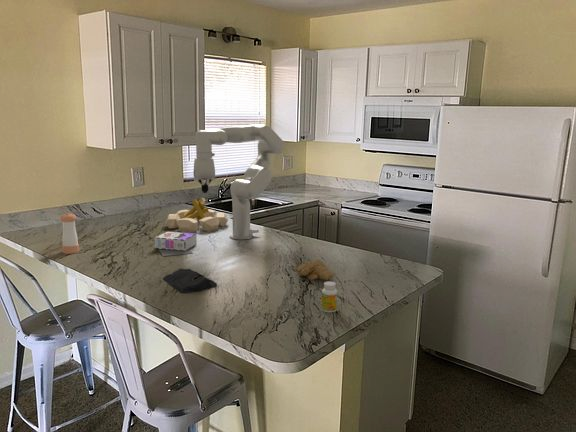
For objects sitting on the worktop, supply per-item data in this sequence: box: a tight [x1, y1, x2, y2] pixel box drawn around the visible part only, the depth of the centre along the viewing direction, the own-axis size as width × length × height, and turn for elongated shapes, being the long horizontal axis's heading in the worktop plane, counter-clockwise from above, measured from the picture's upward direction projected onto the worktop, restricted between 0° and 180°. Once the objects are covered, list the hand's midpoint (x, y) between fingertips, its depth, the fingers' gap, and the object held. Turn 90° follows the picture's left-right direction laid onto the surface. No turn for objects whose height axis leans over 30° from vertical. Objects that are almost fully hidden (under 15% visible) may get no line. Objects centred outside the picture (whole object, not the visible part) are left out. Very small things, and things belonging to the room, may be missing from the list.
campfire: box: [164, 197, 229, 233], centre depth 285 cm, size 35×34×17 cm
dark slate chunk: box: [162, 268, 218, 294], centre depth 192 cm, size 15×22×5 cm
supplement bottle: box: [320, 280, 338, 313], centre depth 167 cm, size 5×5×10 cm
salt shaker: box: [59, 212, 80, 255], centre depth 230 cm, size 7×7×19 cm
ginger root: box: [293, 258, 335, 281], centre depth 201 cm, size 16×16×8 cm
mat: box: [157, 248, 193, 257], centre depth 235 cm, size 14×14×1 cm
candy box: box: [154, 231, 198, 251], centre depth 241 cm, size 14×6×16 cm
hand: (204, 192), depth 241 cm, fingers closed
